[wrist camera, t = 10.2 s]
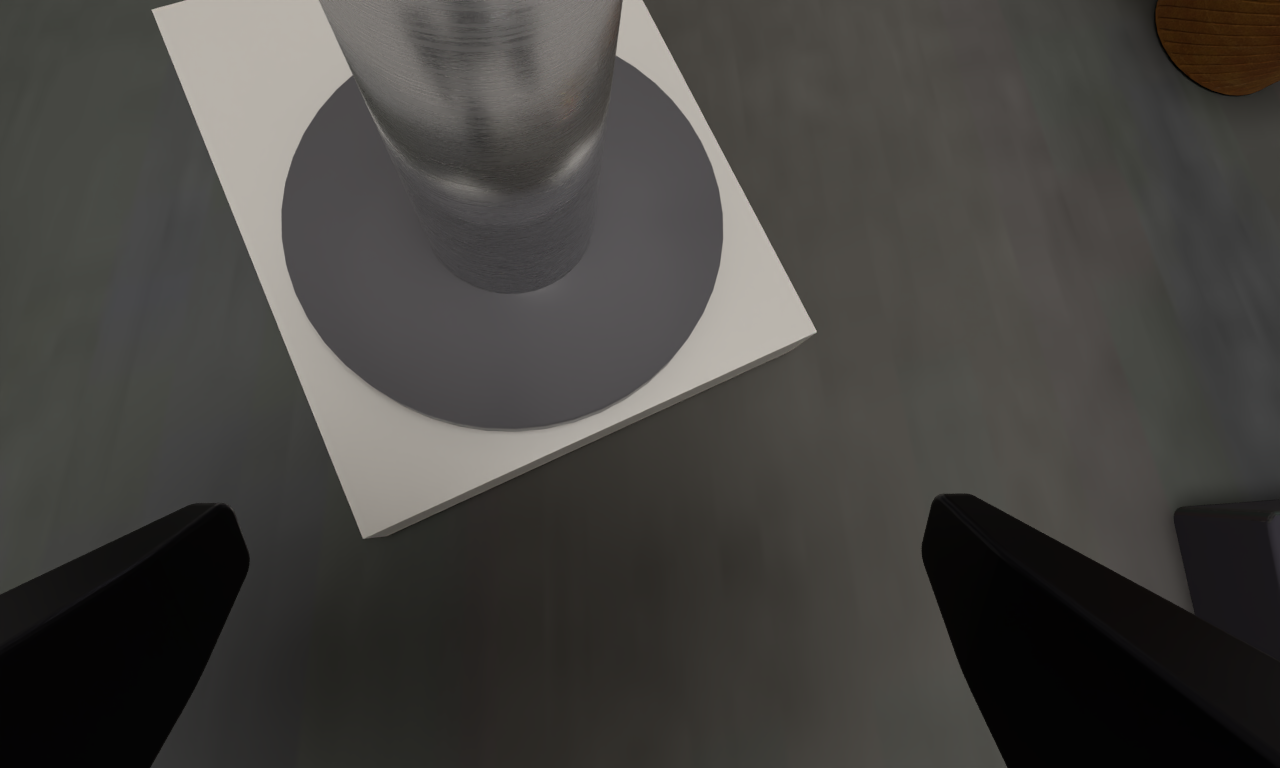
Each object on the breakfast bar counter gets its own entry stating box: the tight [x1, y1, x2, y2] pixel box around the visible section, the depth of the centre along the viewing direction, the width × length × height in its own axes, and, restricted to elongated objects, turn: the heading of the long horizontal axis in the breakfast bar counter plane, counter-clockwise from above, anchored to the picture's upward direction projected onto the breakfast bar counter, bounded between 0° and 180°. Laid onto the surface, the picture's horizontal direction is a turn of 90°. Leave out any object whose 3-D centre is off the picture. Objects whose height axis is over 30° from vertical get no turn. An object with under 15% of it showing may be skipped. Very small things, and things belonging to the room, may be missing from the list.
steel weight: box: [319, 0, 623, 294], centre depth 14 cm, size 5×5×11 cm
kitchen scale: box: [152, 0, 817, 539], centre depth 21 cm, size 15×18×4 cm
